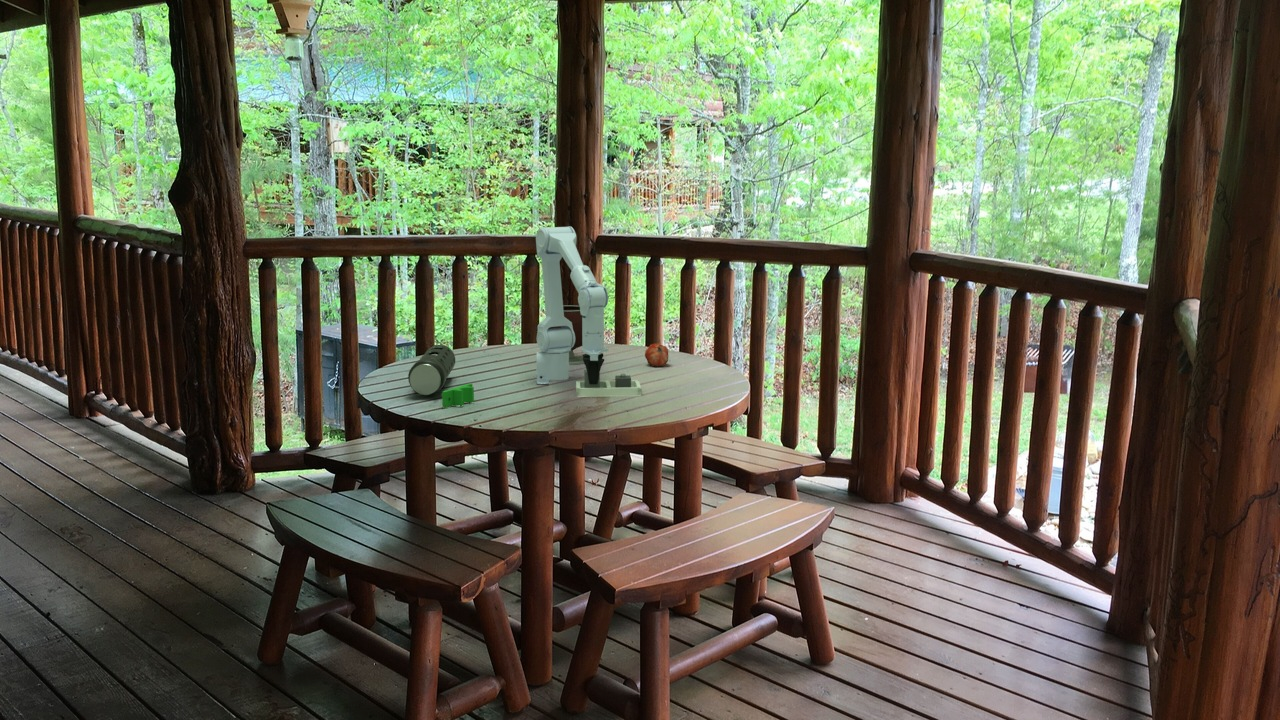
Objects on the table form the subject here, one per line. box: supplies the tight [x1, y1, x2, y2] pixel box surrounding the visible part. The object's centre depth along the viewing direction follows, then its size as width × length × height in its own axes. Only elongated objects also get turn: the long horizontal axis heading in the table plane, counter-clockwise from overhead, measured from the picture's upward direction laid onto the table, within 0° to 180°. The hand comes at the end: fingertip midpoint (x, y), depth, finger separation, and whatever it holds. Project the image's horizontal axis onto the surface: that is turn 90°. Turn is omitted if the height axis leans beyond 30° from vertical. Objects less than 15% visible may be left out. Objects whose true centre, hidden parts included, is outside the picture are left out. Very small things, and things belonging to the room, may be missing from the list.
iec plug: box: [583, 368, 601, 388], centre depth 260 cm, size 4×4×7 cm
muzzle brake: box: [407, 344, 456, 396], centre depth 268 cm, size 10×28×10 cm, turn 4°
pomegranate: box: [644, 342, 669, 367], centre depth 303 cm, size 7×7×10 cm
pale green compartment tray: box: [575, 379, 642, 398], centre depth 260 cm, size 17×11×3 cm, turn 94°
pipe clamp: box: [441, 383, 475, 409], centre depth 250 cm, size 11×4×5 cm, turn 153°
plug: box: [614, 373, 632, 388], centre depth 260 cm, size 4×4×5 cm
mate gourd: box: [543, 300, 585, 366], centre depth 307 cm, size 16×14×20 cm
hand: (593, 382), depth 260 cm, fingers closed on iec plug, 4 cm apart
